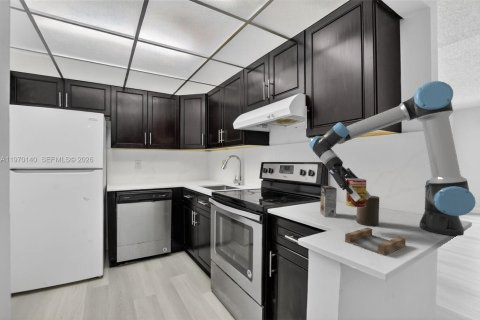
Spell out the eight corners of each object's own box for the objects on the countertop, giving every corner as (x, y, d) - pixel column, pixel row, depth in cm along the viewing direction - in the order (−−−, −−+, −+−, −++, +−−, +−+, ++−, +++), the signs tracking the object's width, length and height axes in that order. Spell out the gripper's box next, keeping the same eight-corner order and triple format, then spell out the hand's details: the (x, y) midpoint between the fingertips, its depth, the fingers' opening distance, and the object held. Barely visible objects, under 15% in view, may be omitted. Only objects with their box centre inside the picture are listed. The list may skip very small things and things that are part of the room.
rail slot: (367, 234, 95) (367, 227, 95) (405, 245, 83) (405, 237, 83) (345, 241, 87) (345, 233, 87) (384, 255, 75) (384, 246, 75)
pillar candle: (372, 227, 105) (373, 195, 105) (352, 221, 114) (353, 192, 113) (382, 224, 110) (383, 194, 110) (362, 219, 119) (364, 191, 118)
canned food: (351, 207, 97) (352, 179, 96) (343, 203, 104) (343, 178, 104) (369, 207, 97) (370, 179, 97) (359, 203, 105) (360, 178, 104)
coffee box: (319, 212, 132) (320, 185, 131) (331, 213, 131) (331, 185, 131) (324, 216, 122) (324, 187, 122) (336, 217, 122) (337, 187, 122)
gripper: (339, 166, 119) (369, 201, 106) (313, 166, 108) (343, 206, 94) (348, 156, 114) (382, 191, 101) (322, 155, 103) (356, 195, 90)
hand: (363, 198), depth 98 cm, fingers closed on canned food, 8 cm apart
